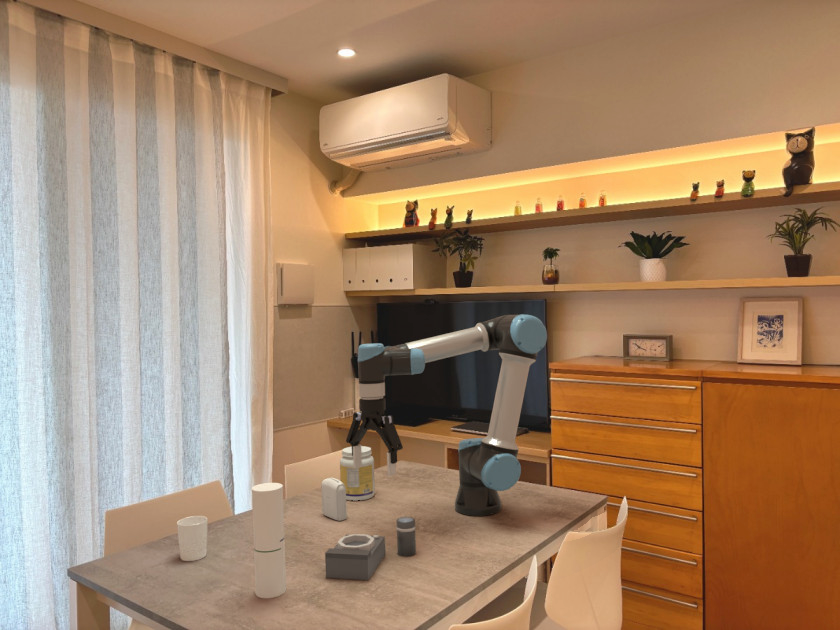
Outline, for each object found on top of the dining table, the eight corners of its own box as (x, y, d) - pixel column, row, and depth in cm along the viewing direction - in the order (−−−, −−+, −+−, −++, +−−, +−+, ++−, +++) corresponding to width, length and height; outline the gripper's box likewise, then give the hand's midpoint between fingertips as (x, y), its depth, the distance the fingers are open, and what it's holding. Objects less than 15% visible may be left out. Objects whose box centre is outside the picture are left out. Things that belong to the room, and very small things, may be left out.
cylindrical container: (291, 586, 151) (288, 483, 150) (275, 600, 144) (272, 492, 144) (266, 583, 153) (262, 481, 153) (249, 596, 146) (245, 490, 146)
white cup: (180, 564, 166) (178, 527, 166) (176, 554, 173) (175, 518, 173) (210, 558, 170) (209, 521, 170) (206, 549, 177) (205, 513, 177)
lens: (417, 549, 171) (416, 516, 171) (413, 557, 166) (412, 523, 166) (399, 548, 172) (398, 516, 172) (395, 556, 167) (394, 522, 167)
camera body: (346, 552, 171) (345, 528, 171) (385, 554, 169) (384, 530, 168) (325, 577, 155) (325, 551, 155) (368, 580, 153) (367, 553, 153)
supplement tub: (345, 491, 229) (344, 445, 229) (378, 491, 227) (376, 445, 227) (336, 501, 217) (335, 453, 217) (371, 501, 215) (369, 453, 215)
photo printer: (320, 514, 204) (319, 477, 203) (331, 511, 206) (330, 474, 206) (337, 522, 196) (335, 483, 195) (348, 519, 198) (347, 480, 198)
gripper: (413, 398, 174) (415, 474, 174) (351, 393, 190) (353, 462, 190) (395, 402, 168) (397, 480, 168) (332, 396, 184) (335, 467, 184)
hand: (374, 471), depth 179 cm, fingers open, 13 cm apart
